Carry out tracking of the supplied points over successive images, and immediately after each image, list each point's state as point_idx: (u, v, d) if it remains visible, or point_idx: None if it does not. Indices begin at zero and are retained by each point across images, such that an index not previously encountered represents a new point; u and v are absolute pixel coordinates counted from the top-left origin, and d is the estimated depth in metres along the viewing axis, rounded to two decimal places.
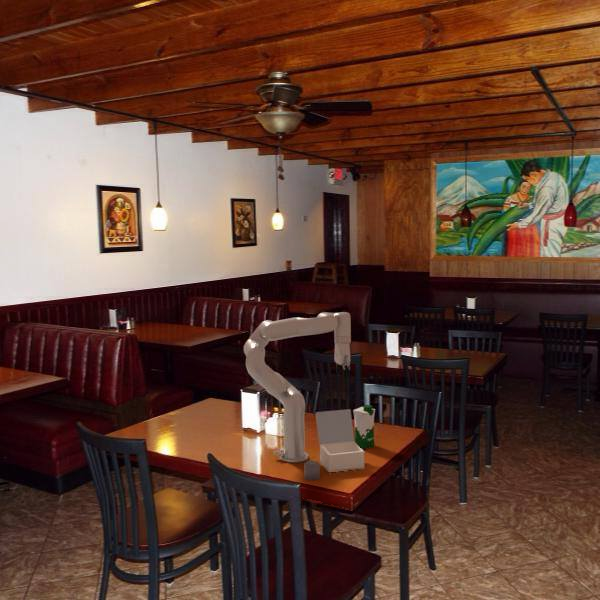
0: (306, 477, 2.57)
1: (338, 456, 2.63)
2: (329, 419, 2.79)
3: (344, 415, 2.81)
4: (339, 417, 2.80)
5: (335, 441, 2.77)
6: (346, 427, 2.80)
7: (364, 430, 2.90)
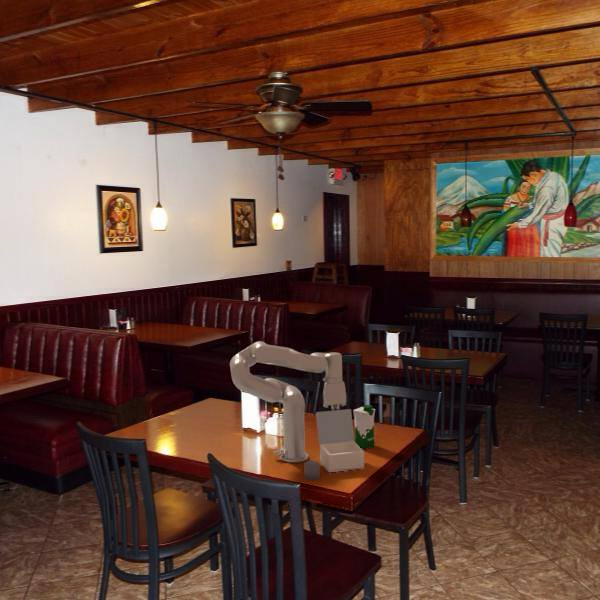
0: (306, 477, 2.57)
1: (338, 456, 2.63)
2: (329, 419, 2.78)
3: (344, 415, 2.80)
4: (339, 417, 2.80)
5: (335, 441, 2.77)
6: (346, 427, 2.79)
7: (364, 430, 2.90)
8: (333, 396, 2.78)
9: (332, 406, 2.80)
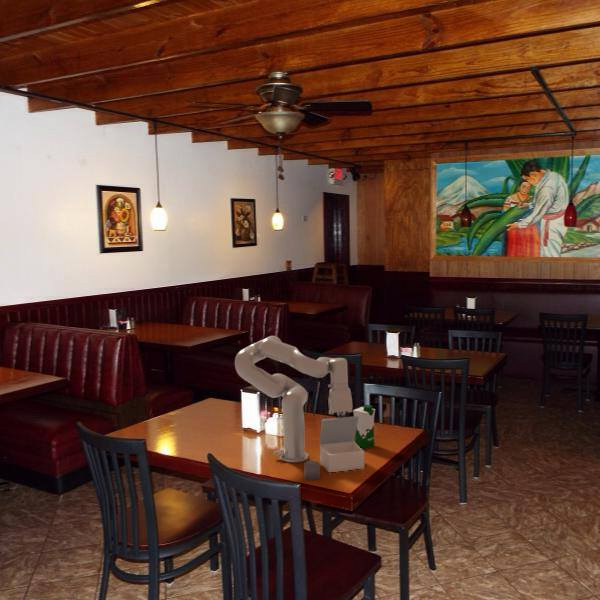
0: (306, 477, 2.57)
1: (338, 456, 2.63)
2: (334, 426, 2.71)
3: (350, 422, 2.72)
4: (345, 424, 2.72)
5: (335, 441, 2.77)
6: (349, 431, 2.75)
7: (364, 430, 2.90)
8: (339, 403, 2.71)
9: (338, 413, 2.73)
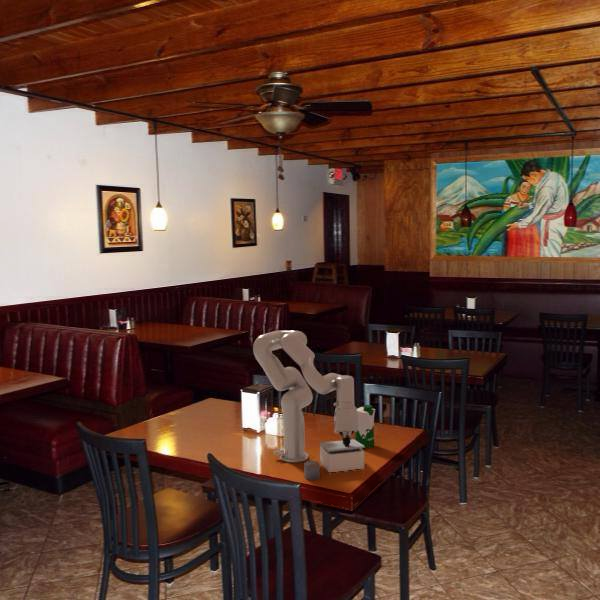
0: (306, 477, 2.57)
1: (338, 456, 2.63)
2: None
3: None
4: None
5: None
6: None
7: (364, 430, 2.90)
8: (345, 422, 2.63)
9: (344, 432, 2.65)
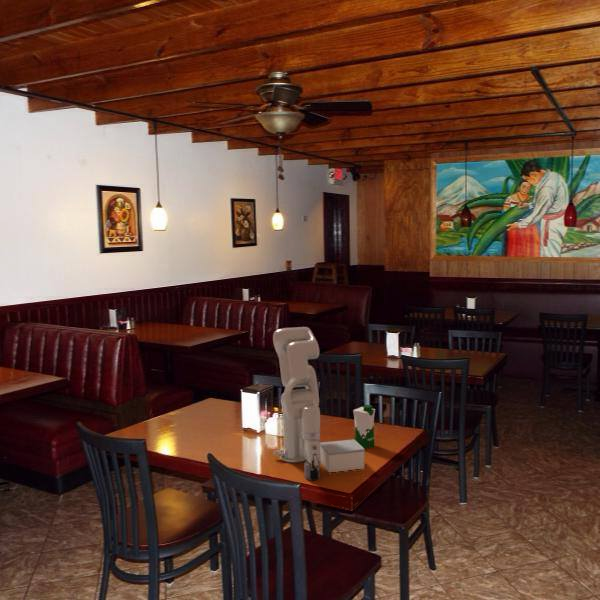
0: (306, 477, 2.56)
1: (338, 456, 2.63)
2: None
3: None
4: None
5: None
6: None
7: (364, 430, 2.90)
8: None
9: None
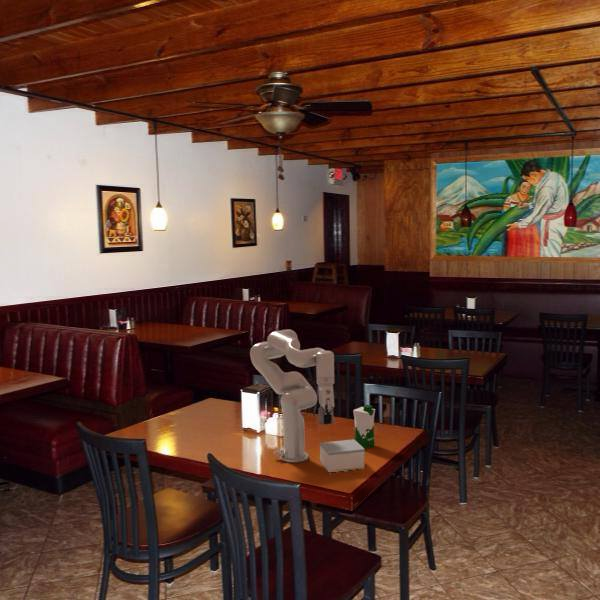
0: (320, 422, 2.60)
1: (338, 456, 2.63)
2: None
3: None
4: None
5: None
6: None
7: (364, 430, 2.90)
8: None
9: None
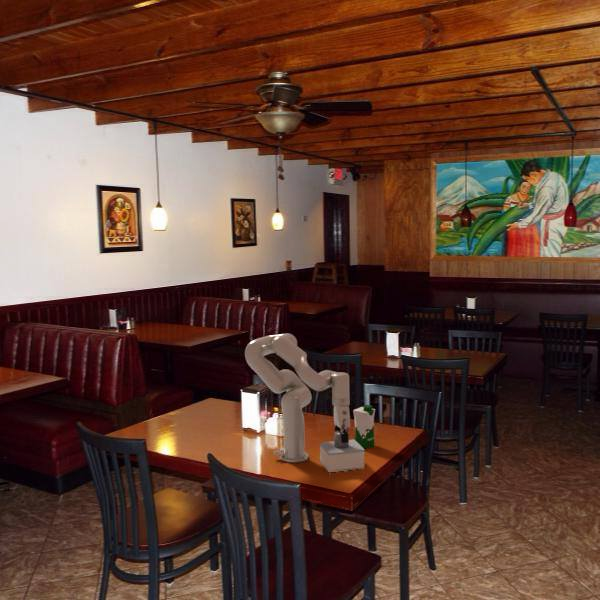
0: (336, 446, 2.68)
1: (338, 456, 2.63)
2: None
3: None
4: None
5: None
6: None
7: (364, 430, 2.90)
8: None
9: None
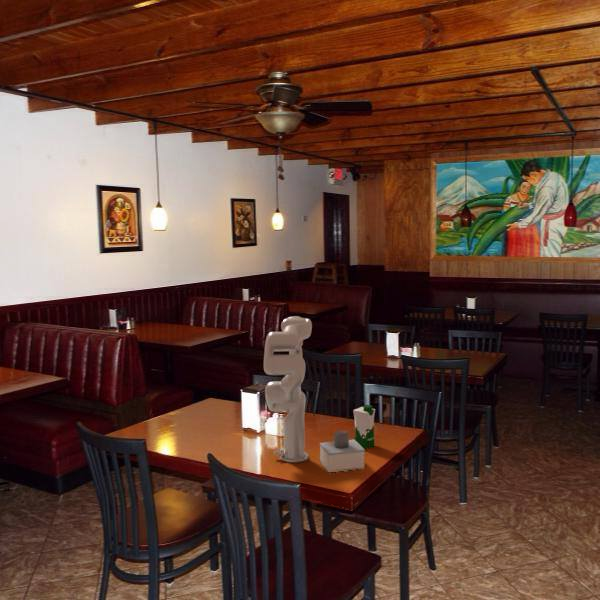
0: (336, 446, 2.68)
1: (338, 456, 2.63)
2: None
3: None
4: None
5: None
6: None
7: (364, 430, 2.90)
8: None
9: None
